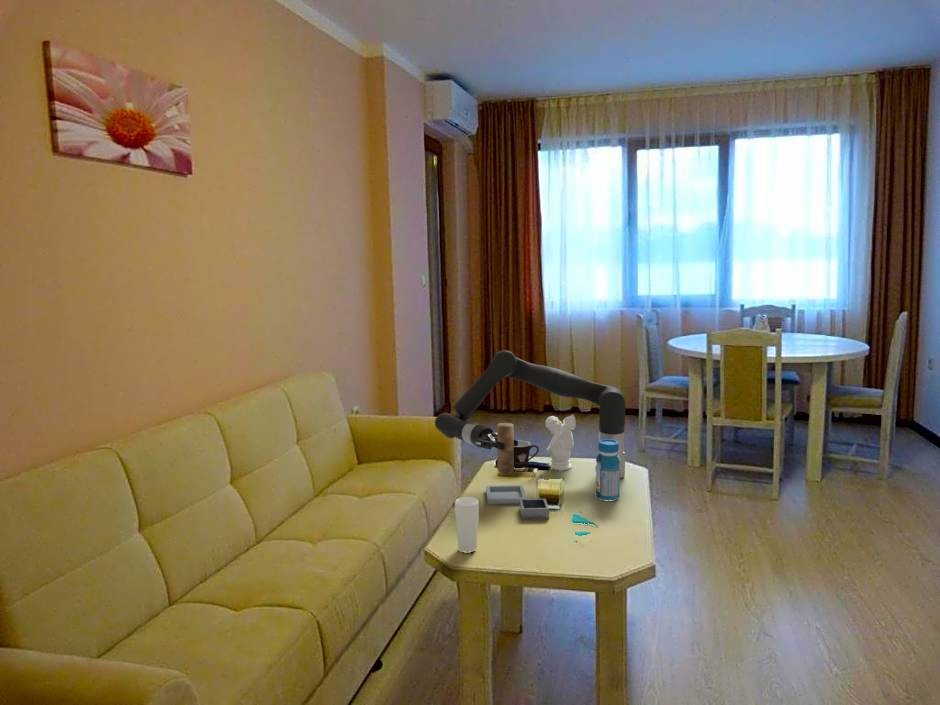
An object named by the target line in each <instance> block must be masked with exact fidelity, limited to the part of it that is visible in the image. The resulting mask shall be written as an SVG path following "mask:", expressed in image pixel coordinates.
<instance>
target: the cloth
mask: <svg viewBox="0 0 940 705" xmlns="http://www.w3.org/2000/svg"><path fill="white" fill-rule="evenodd" d="M578 513H581V514H580V515H579V514H578ZM578 513H573V514H572V516H573V518H571V520H572V522H573V523H583V524H584V523H585V524H588V523H589V524H593V525H596V526H597V525H598V524H596V523H595V522H594V521H591V520H589V519H587V517H583V516H582V515H583V514H582V513H583V512H582V511H581V510H579V512H578ZM573 523H572V524H573ZM590 532H591V531H575V535H578V536H582V535H587V534H590Z"/></svg>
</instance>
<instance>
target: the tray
mask: <svg viewBox="0 0 940 705" xmlns="http://www.w3.org/2000/svg"><path fill="white" fill-rule="evenodd" d="M485 493H486V500H487V506H510V505H515V506H516V505H519V499H528V498H527V494H526V491H525V487H524V485H523V484H506V485H505V484H503V485H501V484H499V485H498V484H496V485H495V484H494V485H485Z"/></svg>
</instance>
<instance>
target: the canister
mask: <svg viewBox="0 0 940 705" xmlns="http://www.w3.org/2000/svg"><path fill="white" fill-rule="evenodd" d="M514 426H515V424H513V423H511V422H501V423H497V430H496V431H497V432H496V433H497V441H498V442H501V443H504V444H505V450H501V449H498V448H497V472H499V473H502V474H509V473H513V472H514V439H515V438H514V436H515V433H514V430H515V427H514Z"/></svg>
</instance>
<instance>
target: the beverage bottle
mask: <svg viewBox="0 0 940 705" xmlns="http://www.w3.org/2000/svg"><path fill="white" fill-rule="evenodd" d="M597 445H598V447H597V448H598V455H597V456H596V458H595V462H596V465H595V498H596V499H597V498H598V499H597V500H599V499H601V500H600V501H602V500H608V501H607V502H609V500H616V499H618V498H619V499H620V497H621V496H620V494H621V493H620V492H621V491H620V488H621V485H620V484H621V483H620V482H621V478H620V471H621V467H620V465H619V464H620V458H619V456H618V454H617V452H618V450H619V444H618V441H616V440H611V439H604V440H600V441H599V440H598V444H597ZM599 452H600V453H599ZM619 499H618V500H619ZM616 501H617V500H616Z"/></svg>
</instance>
